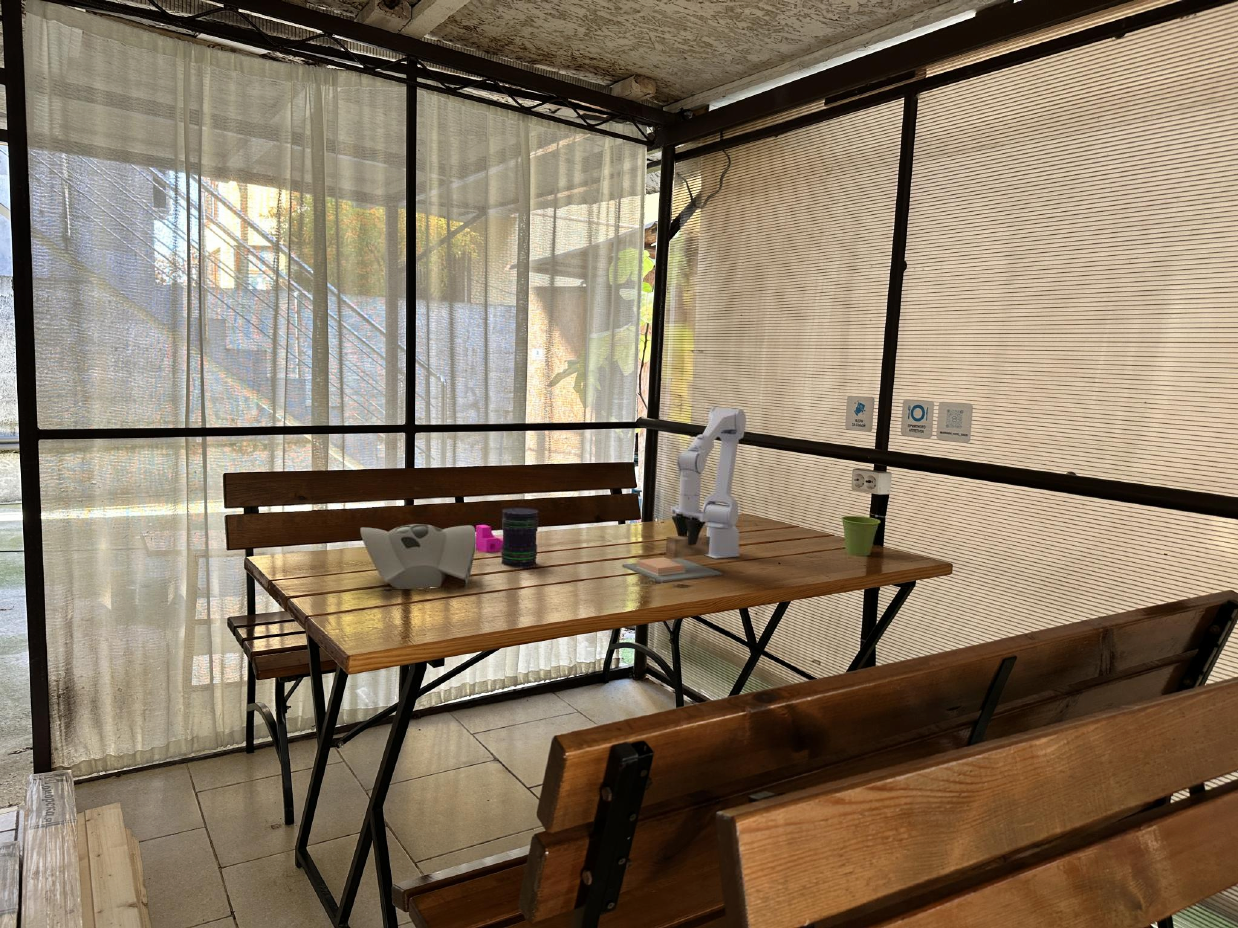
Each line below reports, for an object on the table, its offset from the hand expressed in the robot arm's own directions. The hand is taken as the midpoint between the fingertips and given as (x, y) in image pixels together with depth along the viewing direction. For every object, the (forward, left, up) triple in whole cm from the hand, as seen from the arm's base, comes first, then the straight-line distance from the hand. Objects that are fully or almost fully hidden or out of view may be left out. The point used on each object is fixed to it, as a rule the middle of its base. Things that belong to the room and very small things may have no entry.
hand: (687, 542), depth 238 cm
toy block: (+36, -42, -8) cm, 56 cm away
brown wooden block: (0, 0, -3) cm, 3 cm away
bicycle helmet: (+71, -18, -9) cm, 74 cm away
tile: (+4, 0, -6) cm, 7 cm away
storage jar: (+40, -23, -8) cm, 47 cm away
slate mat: (+5, 0, -7) cm, 9 cm away
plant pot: (-62, +7, -8) cm, 63 cm away
